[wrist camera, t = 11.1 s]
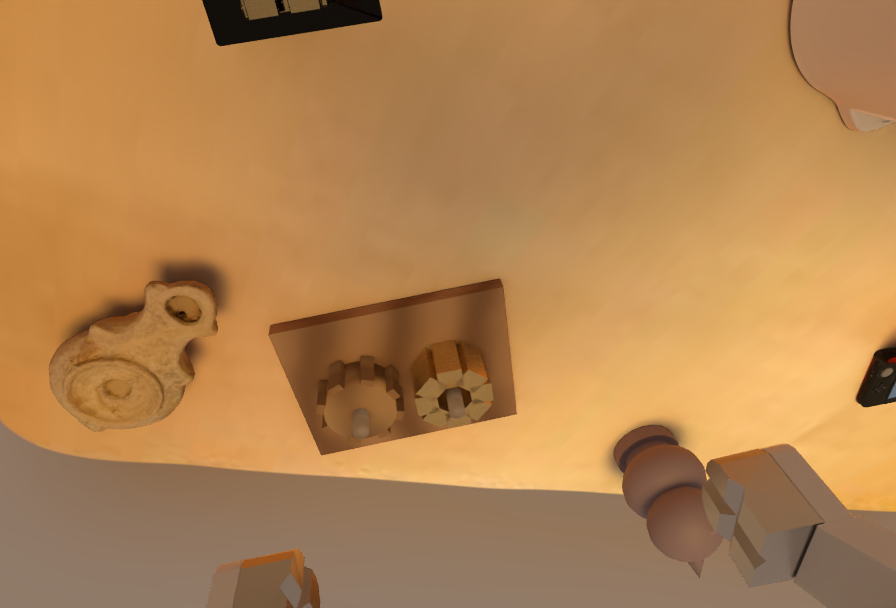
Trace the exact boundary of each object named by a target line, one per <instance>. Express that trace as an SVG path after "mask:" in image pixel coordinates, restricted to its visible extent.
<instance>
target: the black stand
mask: <svg viewBox="0 0 896 608" xmlns="http://www.w3.org/2000/svg"><path fill="white" fill-rule="evenodd" d="M202 1H203V4H204V7H205V10H206V13H207V16H208V19H209V22H210V25H211V28H212V31H213V34H214V37H215V40H216V43H217V45H219V46H225V45H231V44H237V43H244V42H250V41H256V40H263V39H269V38H275V37H281V36H288V35H294V34H300V33H307V32H313V31H319V30H325V29H332V28H338V27H344V26H351V25H357V24H363V23H369V22H376V21H380V20H382V12H381V7H380V2H379V0H202Z"/></svg>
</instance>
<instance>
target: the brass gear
mask: <svg viewBox="0 0 896 608" xmlns="http://www.w3.org/2000/svg"><path fill="white" fill-rule="evenodd" d="M431 347H432V350H430V349H428V348H424V350H423V351H422V352H421V353H420V354H419V356H418V357H417V358H416V359H415V360H414V362H413V363H412V367H413V368H411V375H412V383H413V391H414V399H415V403H416V407H417V411H418V414H419V416H422V419H423V420H424V421H426V422H429V423H431V424H433V425H436V426H438V427H441V428H442V427H443V426H444V425H445V424H446V423H447V424H448V428H453V427H458V426H462V425H467V424H471V418H472V419H475V420H478V419H479V418H480V417H481V416H482V415H483V414H484V413H485V412H486V411H487V410H488V409H489V408H490V407H491V406H492V404H491V401H494V399H493V392H492V385H491V381H490V377H489V374H488V371H487V367H486V364H485V361H484V357H483V354H480V351H479V349H477V348H475V347H473V346H472V345H470V344H468V343H466V342H464V341H462V340H460V342H459V343H458V344H457V345H456V344H455V340H449V341H444V342H439V343H434V344H431ZM454 387H460V390H461V394H462V399H463V403H464V407H465V415H464V416H463V417H461V418H452V417H451V416H450V413H449V408H448V403H447V398H446V392H445V389H449V388H454Z"/></svg>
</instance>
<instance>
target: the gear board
mask: <svg viewBox="0 0 896 608" xmlns="http://www.w3.org/2000/svg"><path fill="white" fill-rule="evenodd" d="M269 337H270V339H271V342H272V344H273V346H274V349H275V351H276V353H277V355H278V358H279V360H280V362H281V365H282V367H283V369H284V371H285V374H286V376H287V378H288V381H289V383H290V385H291V387H292V390H293V392H294V394H295V397H296V399H297V401H298V403H299V406H300V408H301V410H302V413H303V415H304V417H305V419H306V422H307V424H308V426H309V429H310V431H311V433H312V435H313V438H314V440H315V442H316V445H317V447H318V449H319V451H320V454H321V455H326V454H330V453H335V452H340V451H345V450H349V449H354V448H359V447H364V446H368V445H373V444H378V443H383V442H387V441H392V440H397V439H402V438H406V437H411V436H416V435H420V434H425V433H430V432H435V431H439V430H444V429H449V428H448V424H447V423H446V424H445V425H444V426H443V427H442V428H441V427H438V426H436V425H433V424H431V423H429V422H426V421H424V420H423V419H422V416H419V414H418V411H417V407H416V403H415V399H414V391H413V383H412V375H411V368H413V367H412V363H413V362H414V360H415V359H416V358H417V357H418V356H419V354H420V353H421V352H422V351H423V350H424V348H428V349H430V350H432V347H431V344H434V343H439V342H444V341H449V340H455V344H456V345H457V344H458V343H459V342H460V340H462V341H464V342H466V343H468V344H470V345H472V346H473V347H475V348H477V349H479V351H480V354H483V357H484V361H485V364H486V367H487V371H488V374H489V377H490V381H491V385H492V392H493V399H494V401H491V404H492V406H491V407H490V408H489V409H488V410H487V411H486V412H485V413H484V414H483V415H482V416H481V417H480V418H479V419H478V420H475V419H472V418H471V424H473V423H477V422H482V421H487V420H492V419H496V418H501V417H506V416H510V415H515V414H517V412H516V402H515V393H514V384H513V374H512V365H511V355H510V346H509V337H508V327H507V318H506V308H505V299H504V290H503V285H502V283H501V281H500V279H497V280H492V281H487V282H482V283H477V284H472V285H467V286H462V287H457V288H453V289H448V290H443V291H438V292H433V293H428V294H423V295H418V296H413V297H408V298H403V299H398V300H393V301H389V302H384V303H379V304H374V305H369V306H364V307H359V308H354V309H349V310H344V311H339V312H334V313H329V314H325V315H320V316H315V317H310V318H305V319H300V320H295V321H290V322H285V323H280V324H275V325H271V326H270V330H269ZM445 392H446V398H447V403H448V408H449V413H450V416H451V417H452V418H461V417H463V416H464V415H465V407H464V403H463V399H462V394H461V390H460V387H454V388H449V389H445ZM467 425H468V424H467ZM462 426H463V425H462ZM453 428H454V427H453Z"/></svg>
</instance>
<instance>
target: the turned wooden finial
mask: <svg viewBox="0 0 896 608" xmlns="http://www.w3.org/2000/svg"><path fill="white" fill-rule="evenodd" d="M614 457H615V460H616V462H617V464H618V466H619V468H620V470H621V471H622V472H623V473H624V476H623V483H622V490H623V493H624V496H625V499H626V502H627V504H628V505H629V507H630V508H631V509H633V511H635V512H636V513H637V514H638V515H640V516H641V517H643V518H646V519H647V529H648V532H649V535H650V538H651V540H652V542H653V544H654V545H655V546H656V547H657V548H658V549H659V550H660V551H661V552H662V553H664V554H665V555H666V556H668V557H670V558H672V559H675V560H679V561H683V562H688V563H689V565H690V566H691V567H692V569H693V570H694V571H695V572H696V574H697V575H698V576H699V578H700V574H701V570H702V566H703V562H704V559H705V558H706V557H708V556H710V555H711V554H712V553H713V552H714V551H715V550H717V548H718V547H719V546H720V544H721V542H722V539H723V537H722V536H721V535H719V534H718V533H716V531H715V530H714V528H713V526H712V525H711V523H710V521H709V519H708V517H707V514H706V512H705V510H704V505H703V500H702V489H703V485H704V484H705V483H706V482H707V479H706V473H705V469H704V466H703V464H702V463H701V462H700V460H699V459H698V458H697V457H696V456H695V455H694V454H693V453H692V452H691V451H689V450H687V449H685V448H682V447H680V446H678V442H677V441H676V439H675V438H674V436H673V434H672V433H671V432H670V431H669V430H668V429H667V428H665V427H662V426H658V425H649V426H644V427H640V428H638V429H635V430H633V431H631V432H629V433H628V434H626V435H625V436H624V437H623V438H622V439H621V440H620V441H619V442H618V443H617V445H616V447H615V449H614Z"/></svg>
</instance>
